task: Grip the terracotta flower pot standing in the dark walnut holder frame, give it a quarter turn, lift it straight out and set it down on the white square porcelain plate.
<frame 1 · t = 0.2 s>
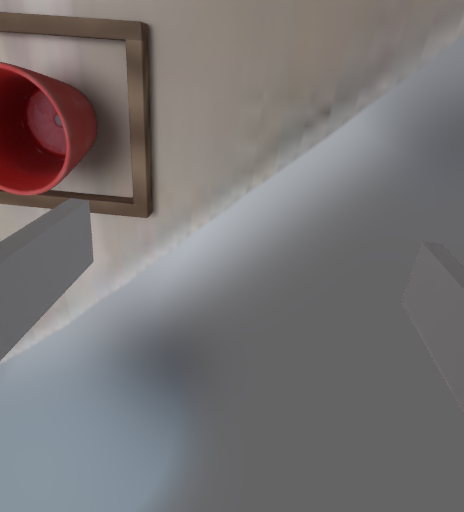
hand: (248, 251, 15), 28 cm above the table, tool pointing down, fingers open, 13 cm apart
holder frame: (63, 120, 41), on the table
flower pot: (64, 120, 41), resting in holder frame
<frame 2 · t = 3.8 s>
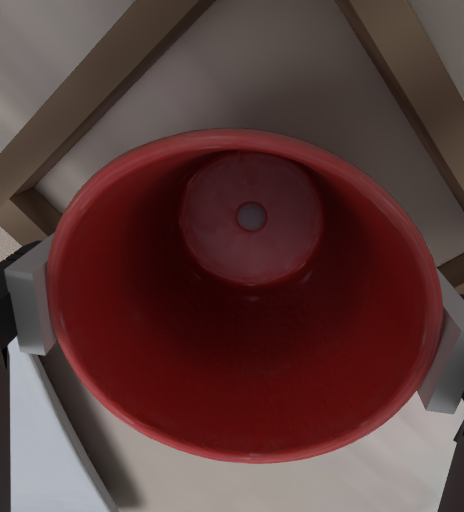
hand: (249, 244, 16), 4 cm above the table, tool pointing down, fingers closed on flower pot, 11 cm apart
holder frame: (252, 214, 19), on the table
flower pot: (252, 213, 19), resting in holder frame, touching gripper
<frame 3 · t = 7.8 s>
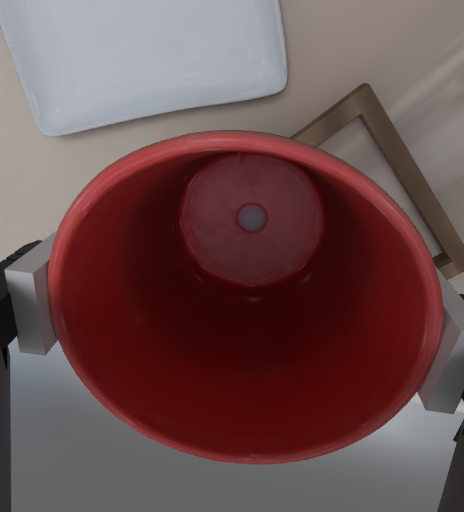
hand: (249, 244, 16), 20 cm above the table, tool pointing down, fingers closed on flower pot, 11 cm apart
holder frame: (325, 234, 37), on the table
flower pot: (252, 214, 19), point 16 cm above the table, touching gripper
when the fingers open (7 cm above the table, at t = 12.2 s): flower pot drops 1 cm, resting on salad plate.
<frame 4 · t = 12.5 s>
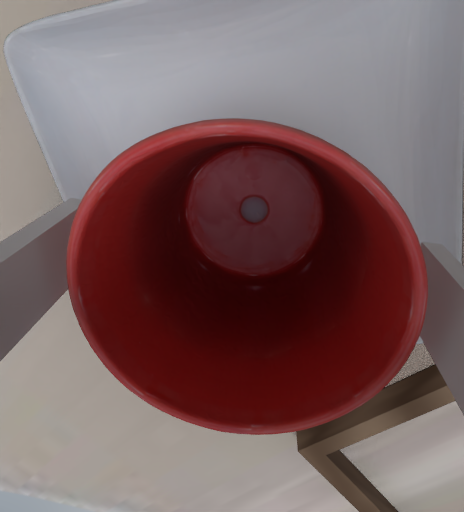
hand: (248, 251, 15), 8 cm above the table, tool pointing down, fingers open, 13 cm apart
flower pot: (255, 206, 20), point 3 cm above the table, touching salad plate
salad plate: (256, 188, 23), on the table, touching flower pot
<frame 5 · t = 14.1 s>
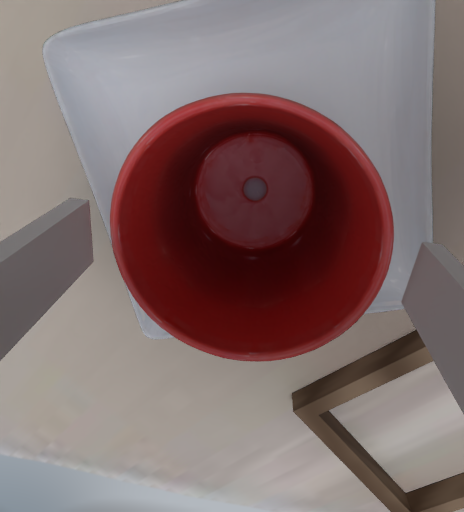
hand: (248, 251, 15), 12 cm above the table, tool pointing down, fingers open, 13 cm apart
holder frame: (443, 414, 34), on the table
flower pot: (255, 188, 23), point 3 cm above the table, touching salad plate
salad plate: (256, 173, 27), on the table, touching flower pot
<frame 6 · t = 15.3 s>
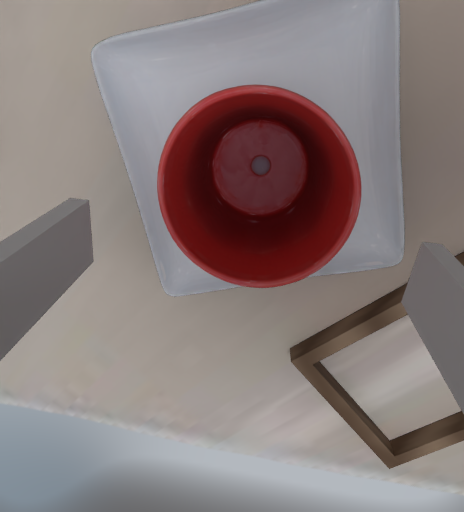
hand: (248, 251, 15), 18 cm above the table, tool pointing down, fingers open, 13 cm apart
holder frame: (420, 366, 39), on the table
flower pot: (260, 165, 29), point 3 cm above the table, touching salad plate
salad plate: (259, 156, 32), on the table, touching flower pot
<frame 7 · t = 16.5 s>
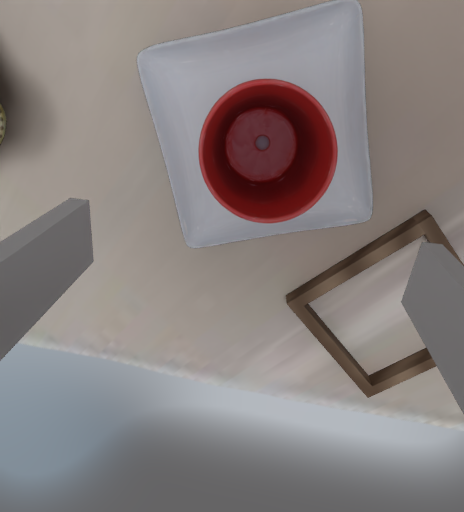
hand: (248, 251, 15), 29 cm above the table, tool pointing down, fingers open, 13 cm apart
holder frame: (391, 309, 49), on the table
flower pot: (261, 143, 38), point 3 cm above the table, touching salad plate
salad plate: (261, 136, 42), on the table, touching flower pot
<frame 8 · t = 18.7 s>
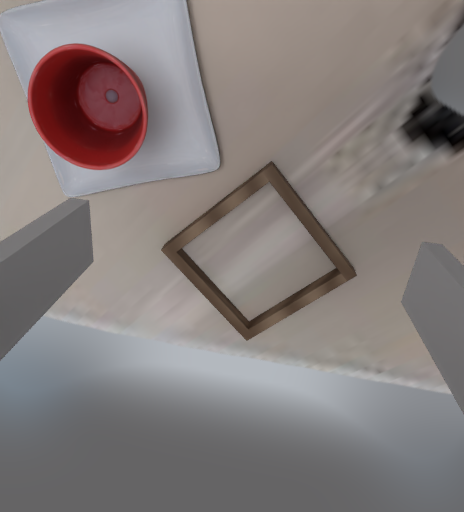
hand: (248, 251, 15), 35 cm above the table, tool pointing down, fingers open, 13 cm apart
holder frame: (258, 256, 54), on the table
flower pot: (113, 96, 43), point 3 cm above the table, touching salad plate
salad plate: (123, 94, 47), on the table, touching flower pot
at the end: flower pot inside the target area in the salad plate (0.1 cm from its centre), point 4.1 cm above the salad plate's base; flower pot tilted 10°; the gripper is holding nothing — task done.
